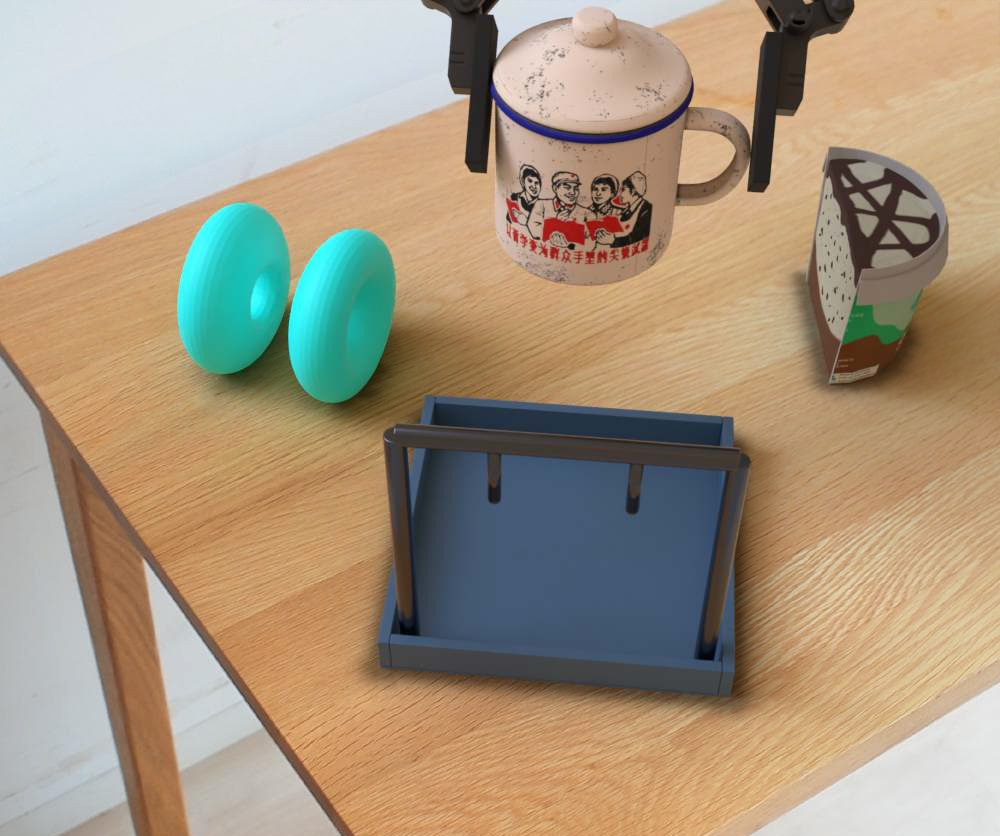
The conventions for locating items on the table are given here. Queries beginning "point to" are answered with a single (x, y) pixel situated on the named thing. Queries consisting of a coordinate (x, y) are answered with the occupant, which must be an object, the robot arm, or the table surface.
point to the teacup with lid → (597, 147)
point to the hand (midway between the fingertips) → (616, 178)
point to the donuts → (263, 297)
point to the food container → (871, 258)
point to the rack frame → (572, 449)
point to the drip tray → (564, 556)
